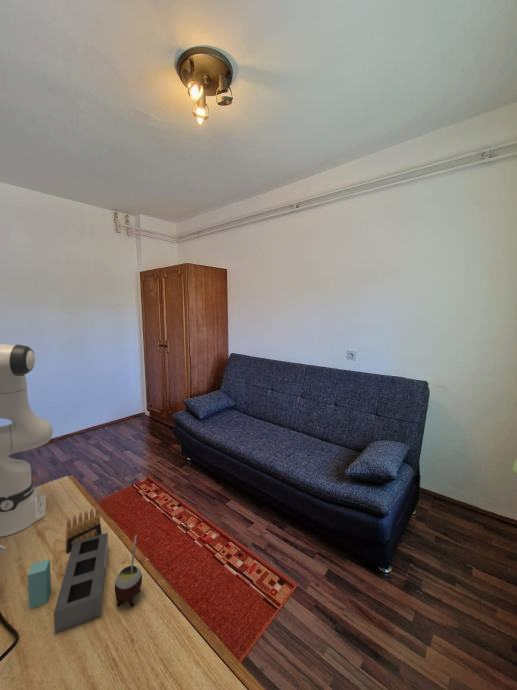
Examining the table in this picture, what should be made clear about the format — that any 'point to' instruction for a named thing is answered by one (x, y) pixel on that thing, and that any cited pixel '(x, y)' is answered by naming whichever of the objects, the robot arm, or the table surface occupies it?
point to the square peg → (39, 583)
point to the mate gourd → (128, 582)
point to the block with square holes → (82, 583)
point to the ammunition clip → (82, 528)
